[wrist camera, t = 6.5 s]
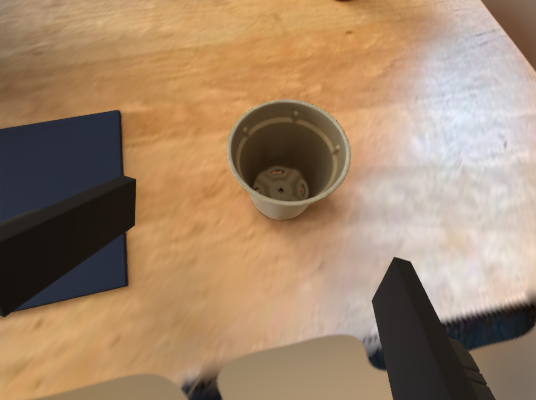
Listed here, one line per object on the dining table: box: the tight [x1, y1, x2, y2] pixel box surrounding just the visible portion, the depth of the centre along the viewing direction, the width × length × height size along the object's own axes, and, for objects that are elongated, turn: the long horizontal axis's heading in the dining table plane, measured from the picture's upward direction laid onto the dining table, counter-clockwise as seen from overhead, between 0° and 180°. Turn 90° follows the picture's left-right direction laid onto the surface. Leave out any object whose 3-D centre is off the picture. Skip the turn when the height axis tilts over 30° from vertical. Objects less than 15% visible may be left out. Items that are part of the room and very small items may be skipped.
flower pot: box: [227, 99, 351, 220], centre depth 25 cm, size 9×9×9 cm
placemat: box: [0, 110, 128, 312], centre depth 27 cm, size 20×20×1 cm
